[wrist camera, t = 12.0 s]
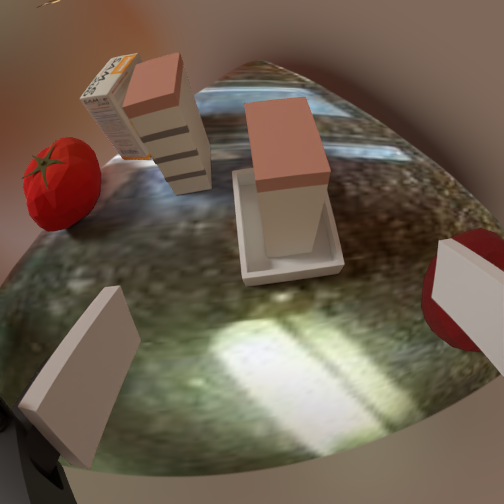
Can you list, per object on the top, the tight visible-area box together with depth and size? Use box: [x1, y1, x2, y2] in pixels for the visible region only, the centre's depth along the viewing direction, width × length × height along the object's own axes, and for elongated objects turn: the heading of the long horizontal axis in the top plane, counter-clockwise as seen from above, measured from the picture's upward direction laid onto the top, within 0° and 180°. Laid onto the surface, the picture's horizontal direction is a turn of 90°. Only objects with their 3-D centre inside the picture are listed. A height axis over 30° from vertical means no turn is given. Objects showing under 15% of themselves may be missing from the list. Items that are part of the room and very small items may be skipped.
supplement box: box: [80, 53, 151, 160], centre depth 32 cm, size 8×5×13 cm, turn 168°
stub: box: [244, 97, 331, 258], centre depth 24 cm, size 4×7×14 cm, turn 6°
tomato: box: [23, 137, 101, 231], centre depth 31 cm, size 11×13×10 cm
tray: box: [232, 168, 345, 287], centre depth 30 cm, size 10×12×3 cm
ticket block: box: [122, 52, 212, 195], centre depth 28 cm, size 5×7×15 cm, turn 6°
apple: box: [421, 228, 504, 352], centre depth 21 cm, size 11×11×12 cm
